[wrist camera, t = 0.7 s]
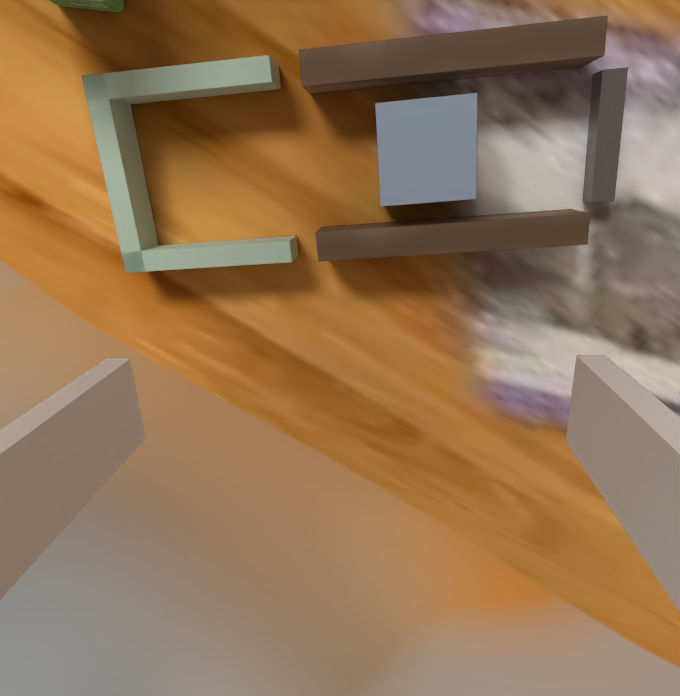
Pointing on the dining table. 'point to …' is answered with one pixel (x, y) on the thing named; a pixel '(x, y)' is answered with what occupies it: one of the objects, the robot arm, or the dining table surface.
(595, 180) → the bar
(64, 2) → the ink box
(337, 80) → the channel
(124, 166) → the frame
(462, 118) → the block
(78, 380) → the robot arm
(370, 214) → the dining table surface
